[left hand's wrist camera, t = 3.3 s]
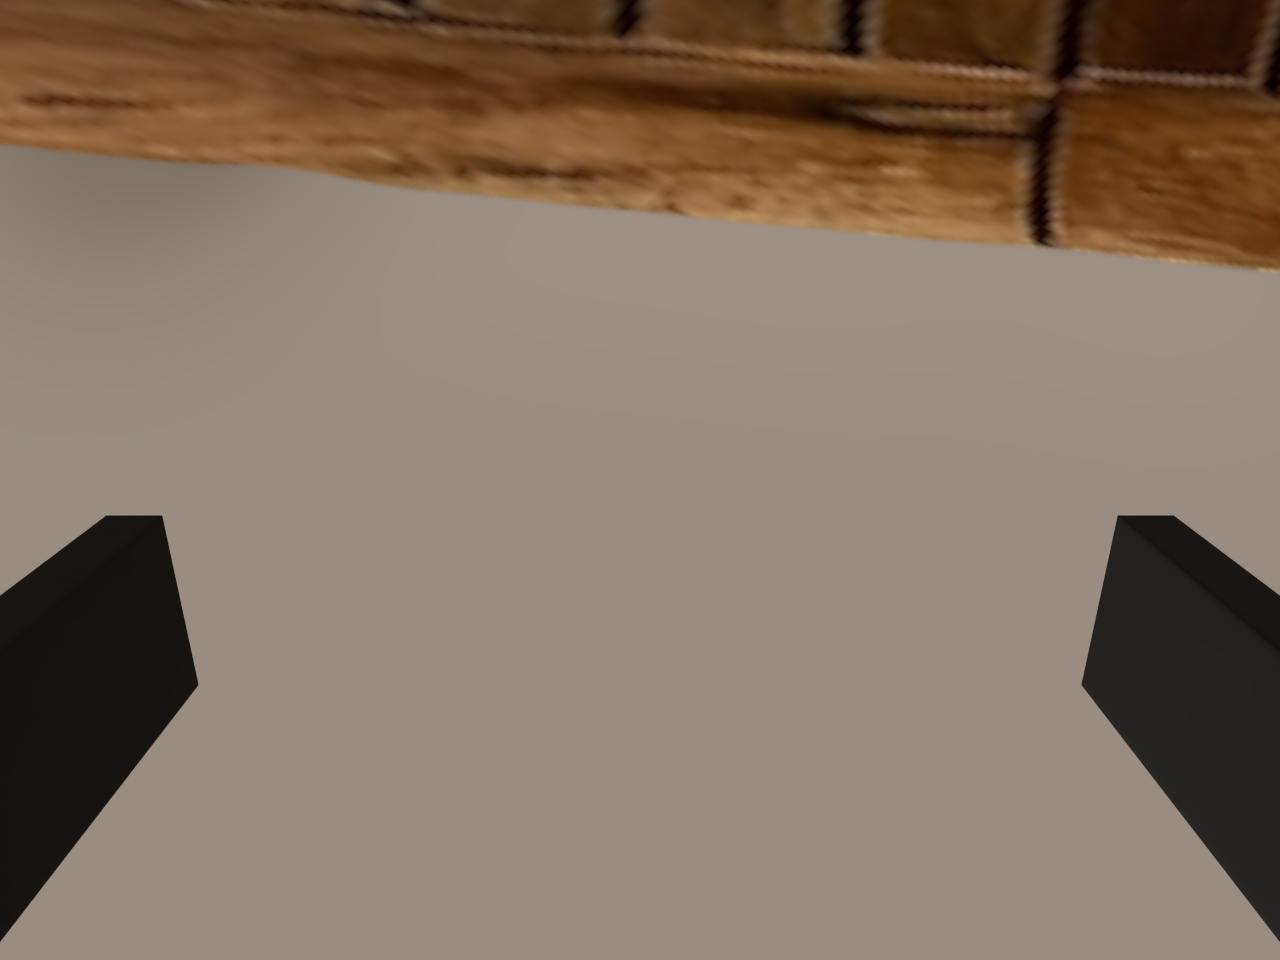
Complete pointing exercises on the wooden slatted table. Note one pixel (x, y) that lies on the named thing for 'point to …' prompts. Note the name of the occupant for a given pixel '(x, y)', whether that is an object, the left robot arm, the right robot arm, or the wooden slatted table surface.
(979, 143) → the wooden slatted table surface
